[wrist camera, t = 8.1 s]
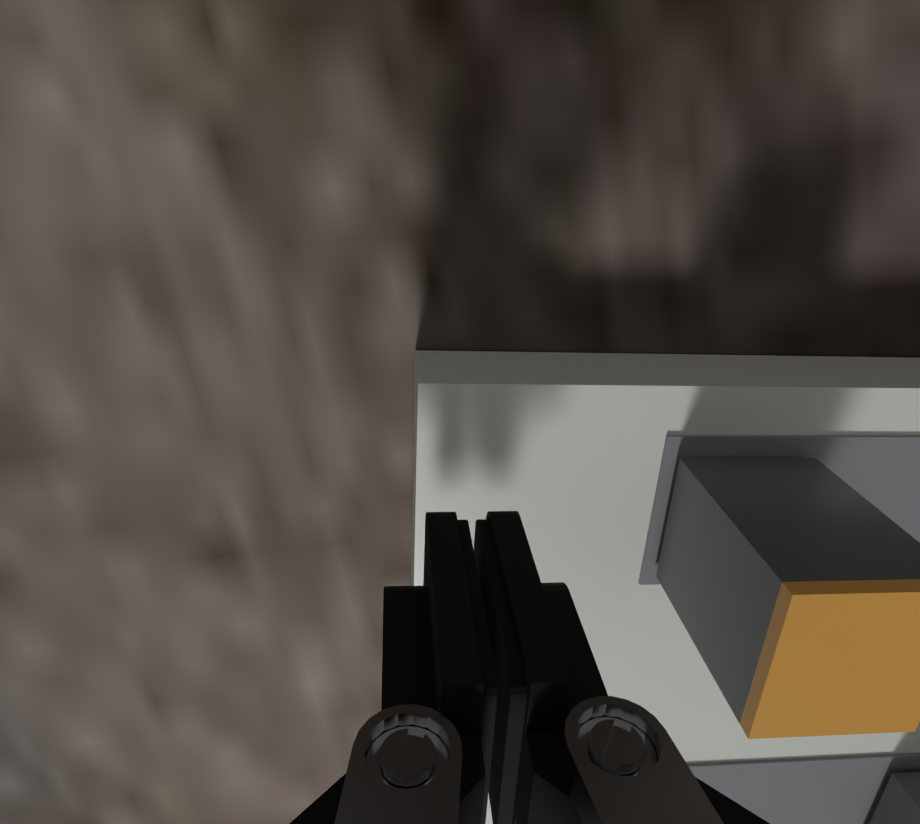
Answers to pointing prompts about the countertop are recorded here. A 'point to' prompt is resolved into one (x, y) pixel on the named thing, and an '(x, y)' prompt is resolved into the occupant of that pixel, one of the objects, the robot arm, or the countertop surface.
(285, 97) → the countertop surface
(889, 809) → the on handle
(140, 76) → the countertop surface
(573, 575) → the board
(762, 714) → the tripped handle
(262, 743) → the countertop surface
